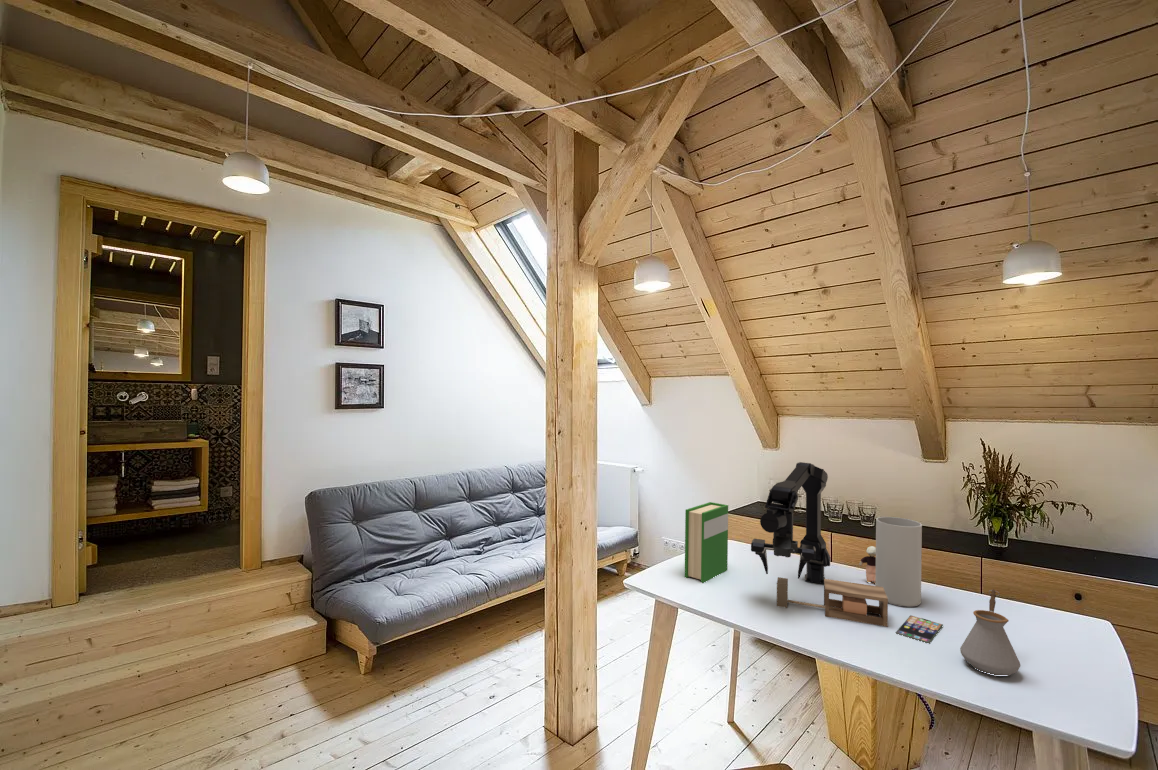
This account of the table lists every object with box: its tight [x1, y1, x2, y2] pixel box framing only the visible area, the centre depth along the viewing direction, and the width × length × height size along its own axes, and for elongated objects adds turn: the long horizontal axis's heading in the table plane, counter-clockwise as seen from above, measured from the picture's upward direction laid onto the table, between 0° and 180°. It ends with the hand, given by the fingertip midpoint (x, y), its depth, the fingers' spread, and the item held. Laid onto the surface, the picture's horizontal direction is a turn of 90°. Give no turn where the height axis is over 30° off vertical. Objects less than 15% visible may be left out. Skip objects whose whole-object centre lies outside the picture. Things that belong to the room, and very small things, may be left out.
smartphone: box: [895, 614, 944, 645], centre depth 146 cm, size 8×15×1 cm, turn 134°
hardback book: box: [684, 501, 729, 584], centre depth 188 cm, size 18×7×24 cm, turn 137°
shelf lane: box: [823, 578, 889, 628], centre depth 155 cm, size 9×16×8 cm, turn 67°
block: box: [776, 576, 868, 615], centre depth 158 cm, size 6×24×7 cm, turn 67°
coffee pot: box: [959, 588, 1021, 676], centre depth 130 cm, size 21×12×15 cm, turn 138°
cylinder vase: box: [874, 516, 923, 608], centre depth 167 cm, size 12×12×25 cm
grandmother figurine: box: [858, 545, 876, 584], centre depth 181 cm, size 8×4×13 cm, turn 65°
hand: (782, 576), depth 163 cm, fingers open, 9 cm apart
